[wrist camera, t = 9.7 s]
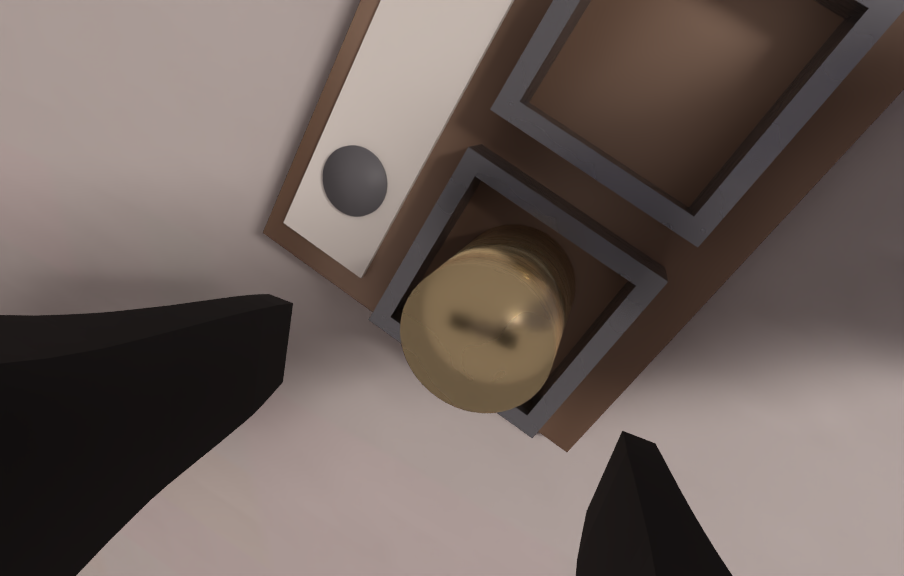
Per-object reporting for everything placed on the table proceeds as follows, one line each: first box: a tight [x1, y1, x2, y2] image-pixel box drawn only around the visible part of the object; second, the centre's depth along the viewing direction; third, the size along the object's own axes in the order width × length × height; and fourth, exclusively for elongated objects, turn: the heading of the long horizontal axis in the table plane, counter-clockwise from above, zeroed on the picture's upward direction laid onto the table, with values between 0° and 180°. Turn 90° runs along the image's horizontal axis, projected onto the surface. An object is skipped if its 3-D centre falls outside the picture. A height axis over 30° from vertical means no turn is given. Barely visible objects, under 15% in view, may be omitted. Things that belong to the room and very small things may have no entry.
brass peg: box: [400, 224, 576, 413], centre depth 15 cm, size 4×4×5 cm
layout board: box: [263, 0, 904, 452], centre depth 14 cm, size 14×24×3 cm, turn 149°
